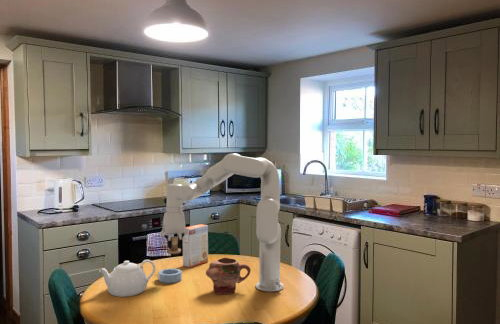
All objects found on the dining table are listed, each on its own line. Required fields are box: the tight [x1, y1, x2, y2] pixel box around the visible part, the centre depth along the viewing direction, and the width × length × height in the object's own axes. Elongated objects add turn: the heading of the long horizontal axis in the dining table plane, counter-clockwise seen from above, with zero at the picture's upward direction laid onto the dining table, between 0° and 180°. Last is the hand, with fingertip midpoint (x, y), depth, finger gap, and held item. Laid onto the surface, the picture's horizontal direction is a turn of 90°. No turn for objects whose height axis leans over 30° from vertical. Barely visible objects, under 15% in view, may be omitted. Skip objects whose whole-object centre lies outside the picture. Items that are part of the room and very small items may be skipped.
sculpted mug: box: [205, 257, 251, 295], centre depth 189 cm, size 20×12×14 cm, turn 103°
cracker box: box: [182, 223, 209, 268], centre depth 231 cm, size 14×6×21 cm, turn 141°
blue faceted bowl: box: [157, 267, 183, 285], centre depth 204 cm, size 11×11×4 cm
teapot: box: [98, 259, 156, 298], centre depth 189 cm, size 19×18×14 cm
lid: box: [166, 236, 182, 255], centre depth 202 cm, size 6×6×7 cm
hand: (174, 247), depth 202 cm, fingers closed on lid, 3 cm apart
